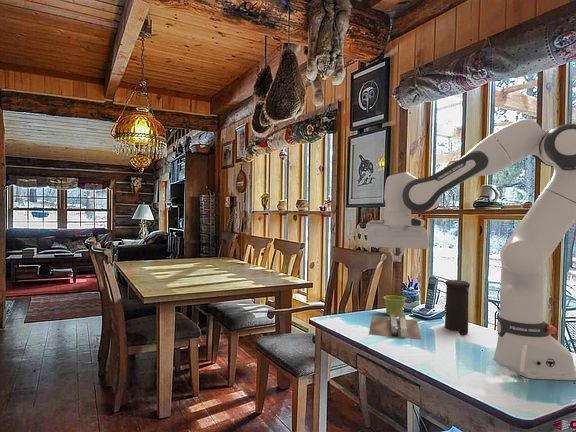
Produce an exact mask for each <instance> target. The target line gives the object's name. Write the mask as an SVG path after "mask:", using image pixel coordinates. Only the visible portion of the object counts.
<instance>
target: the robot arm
mask: <svg viewBox="0 0 576 432" xmlns="http://www.w3.org/2000/svg"><path fill="white" fill-rule="evenodd" d="M529 156H532V157H533V158H535V159H537V160H538V161H539V162H540V163H542V164H543V165H545V166H548V167H551V168H552V167H553V175H552V177H551V179H550V181H549V182H548V183H547V185H546V186H545V188H544V189H543V190H542V191H541V193H540V195H538V197H537V199H536V200H535V201H534V202H533V204H532V205H531V207H530V208H529V210H528V211H527V213H525V215H524V217H523V218H522V220H521V221H520V222H519V224H518V225H517V226H516V228H515V229H514V230H513V232H512V233H511V234H510V235H509V237H508V238H507V240H506V241H505V242H504V244H503V245H502V247H501V250H500V253H499V254H500V261H501V268H500V269H501V270H500V271H501V273H500V288H499V315H498V316H497V322H496V323H497V326H496V328H497V329H496V331H497V344H496V348H495V351H494V355H493V358H492V360H493V361H495V362H497V363H498V364H501V366H505V367H506V368H508V369H510V370H512V371H514V372H515V373H517V374H519V375H520V376H523V377H525V378H527V379H534V380H535V379H536V380H537V379H539V380H555V381H559V380H560V381H576V366H575V362H574V358H573V355H572V354H571V352H570V350H569V349H568V348H566V347H565V346H564V345H563V344H562V343H561V342H560V341H558V340H557V339H556V338H554V337H553V336H552V335H553V334H556V333H557V331H558V330H557V327H555V326H554V325H552V324H549V323H547V322H546V321H544V265H545V264H546V262H547V261H548V260H549V258H550V257H551V256H552V254H553V252H555V250H556V249H557V247H558V246H559V244H560V243H561V241H562V239H564V237H565V235H566V233H567V232H568V231H569V230H570V228H571V227H572V226H573V225H574V223H575V222H576V123H564V124H560V125H558V126H555V127H554V128H552V129H549V130H547V129H544V128H542V127H541V125H539V124H538V122H536V121H534V120H532V119H530V118H521V119H519V120H516V121H514V122H512V123H510V124H508V125H507V124H506V125H505V126H503V127H502V128H500V129H497V130H496V131H495V132H492V133H491V134H489V135H488V136H487V137H485V138H483V139H482V140H481V141H480V142H478V143H477V144H476V145H475V146H473V147H472V148H471V149H470V150H469V151H467V153H465V154H464V155H463V156H461V157H460V158H459V159H457V160H456V161H454V162H452V163H451V164H449V165H448V166H446V167H444V168H442V169H441V170H438V171H437V172H436V173H434V174H431V175H429V176H426V177H421V178H418V177H415V176H414V175H413V174H411V173H410V172H408V171H403V172H396V173H393V174H390V175H388V176H387V178H386V179H385V185H384V193H383V194H384V195H383V198H384V199H383V200H384V204H385V205H384V210H383V219H380V220H373V219H372V220H371V219H370V220H369V221H368V222H366V224H365V231H366V233H367V235H366V245H367V247H368V248H385V249H386V248H388V252H389V254H390V255H391V261H392V262H400V263H401V262H402V257H403V255H404V253H405V252H406V250H405V249H411V250H412V249H414V250H415V249H416V250H417V249H419V250H426V249H428V248H429V244H430V243H429V235H428V231H427V229H426V228H425V225H426V220H424V219H421V218H417V216H412V211H413V212H415V213H423V212H429V211H433V210H434V209H436V208H437V207H438V206H439V205H440V203H441V202H442V197H443V196H442V195H443V194H444V193H446V192H448V191H450V190H451V189H454V188H455V187H457V186H458V185H460V184H462V183H464V182H466V181H467V180H470V179H473V178H475V177H477V178H478V177H481V176H483V177H484V176H491V175H494V174H496V173H499V172H501V171H504V170H506V169H507V168H509V167H511V166H513V165H514V164H516V163H518V162H519V161H521V160H522V159H525V158H527V157H529ZM394 249H399V252H400V254H398V255H395V254H394V253H393V251H394ZM550 334H552V335H550Z"/></svg>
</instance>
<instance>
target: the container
mask: <svg viewBox="0 0 576 432" xmlns="http://www.w3.org/2000/svg"><path fill="white" fill-rule="evenodd" d="M445 285H446V290H445V292H446V293H445V295H446V296H445V317H444V318H445V319H444V328H445V329H446V330H448V331H452V332H458V333H459V335H460V336H464V335H465V336H466V335H468V333H469V292H470V291H469V290H470V289H469V288H470V286H471V284H470V282H468V281H466V280H461V279H460V280H459V279H447V280H445Z"/></svg>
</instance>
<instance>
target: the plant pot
mask: <svg viewBox="0 0 576 432" xmlns="http://www.w3.org/2000/svg"><path fill="white" fill-rule="evenodd" d="M383 299H384V303H385V310H386V314H387V316H390V313H396V317H399V314H403V310H404V304H405V301H406V300H407V298H406V297H404V296H402V295H401V296H399V295H385V296H383Z"/></svg>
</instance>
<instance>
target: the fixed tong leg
mask: <svg viewBox="0 0 576 432" xmlns="http://www.w3.org/2000/svg"><path fill="white" fill-rule="evenodd" d="M398 319H399V323H400V335H401V337H402V338H401V339H408V338H407V327H406V321H405V319H406V314H403V313H402V314H399V316H398Z"/></svg>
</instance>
